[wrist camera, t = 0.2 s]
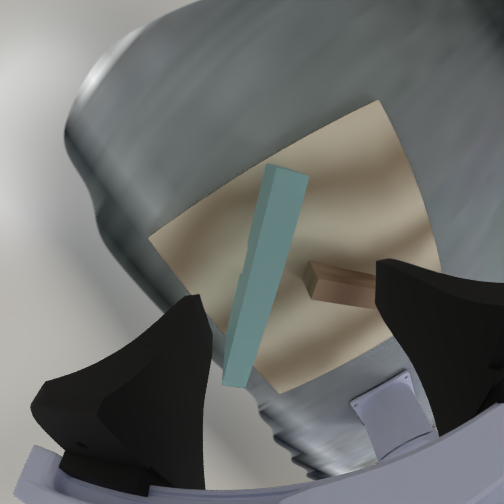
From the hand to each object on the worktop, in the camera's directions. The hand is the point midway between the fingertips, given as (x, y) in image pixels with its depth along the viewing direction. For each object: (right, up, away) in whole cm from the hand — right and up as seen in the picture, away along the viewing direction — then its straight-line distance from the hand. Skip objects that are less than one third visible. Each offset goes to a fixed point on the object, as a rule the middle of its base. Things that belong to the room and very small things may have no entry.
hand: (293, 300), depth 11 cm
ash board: (+4, 0, +11) cm, 12 cm away
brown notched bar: (+9, -1, +11) cm, 15 cm away
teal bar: (-1, +1, +10) cm, 10 cm away
